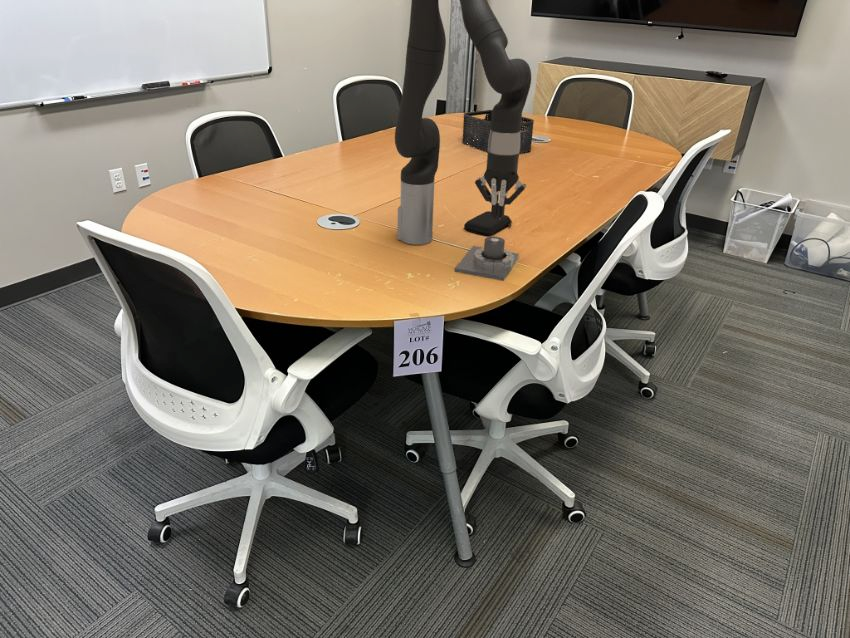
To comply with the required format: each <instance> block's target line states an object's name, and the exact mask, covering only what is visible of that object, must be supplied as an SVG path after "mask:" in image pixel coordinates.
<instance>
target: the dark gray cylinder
mask: <svg viewBox="0 0 850 638" xmlns="http://www.w3.org/2000/svg"><path fill="white" fill-rule="evenodd" d="M505 242H506V240H505V239H504V238H502V237H499V236H486V237H485V238H484V244H483V245H484V246H483V248H484V254H483V257H485V258H487V259H491V260H501V259H503V255H504V249H505V244H506V243H505Z"/></svg>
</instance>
